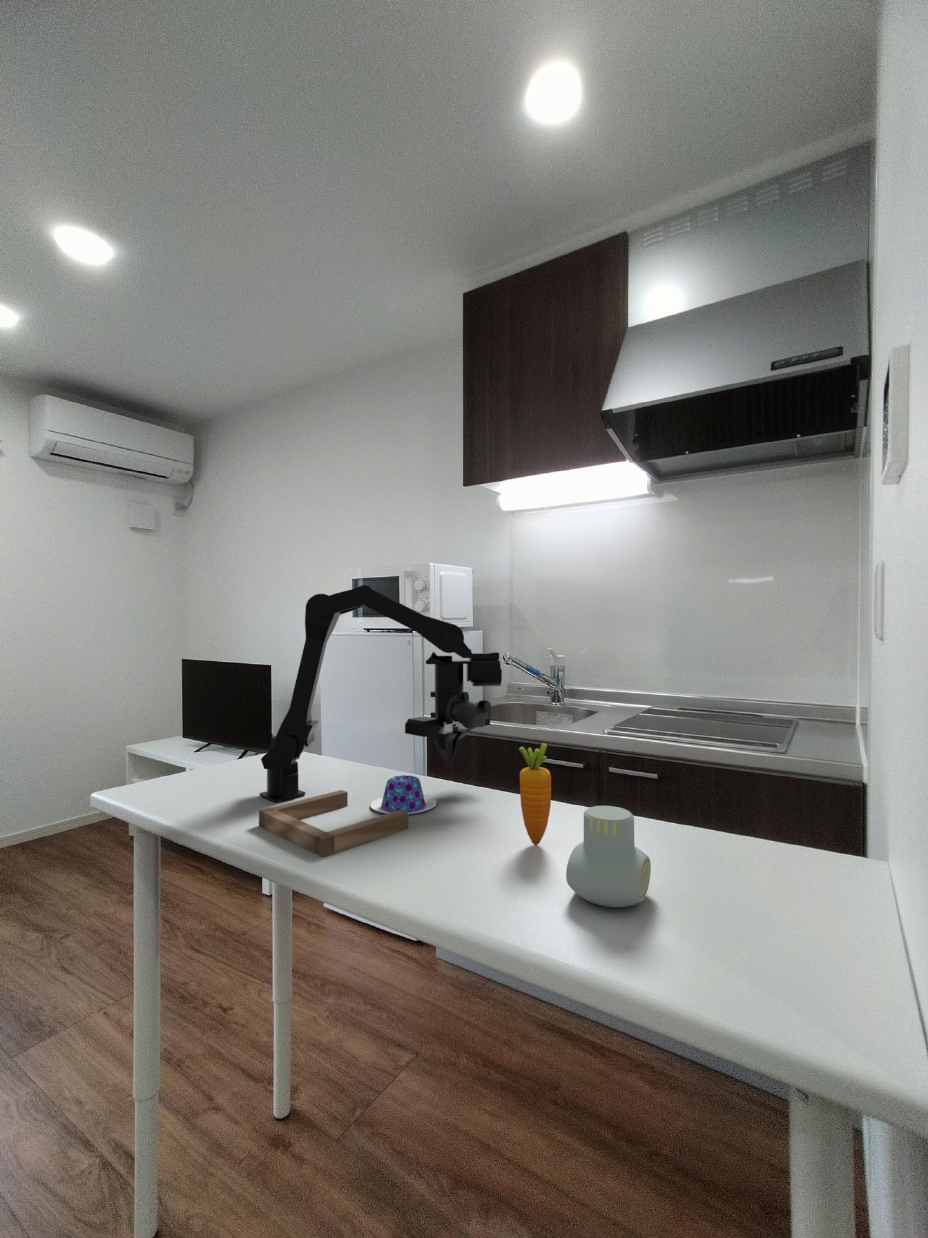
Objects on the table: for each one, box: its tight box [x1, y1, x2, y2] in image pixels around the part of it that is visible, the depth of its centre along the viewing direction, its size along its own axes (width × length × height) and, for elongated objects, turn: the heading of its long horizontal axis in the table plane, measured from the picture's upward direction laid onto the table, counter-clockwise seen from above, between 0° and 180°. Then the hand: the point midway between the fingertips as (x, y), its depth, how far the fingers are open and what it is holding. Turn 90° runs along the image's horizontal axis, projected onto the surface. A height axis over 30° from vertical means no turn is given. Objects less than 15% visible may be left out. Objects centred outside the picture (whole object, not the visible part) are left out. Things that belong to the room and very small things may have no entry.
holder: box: [258, 789, 410, 858], centre depth 92 cm, size 19×16×2 cm
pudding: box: [370, 774, 437, 815], centre depth 103 cm, size 12×12×5 cm
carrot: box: [518, 742, 552, 846], centre depth 84 cm, size 5×5×15 cm
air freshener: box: [565, 805, 652, 909], centre depth 68 cm, size 11×8×10 cm
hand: (449, 765), depth 112 cm, fingers closed
